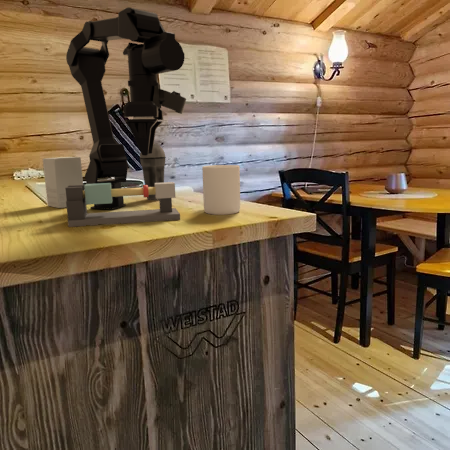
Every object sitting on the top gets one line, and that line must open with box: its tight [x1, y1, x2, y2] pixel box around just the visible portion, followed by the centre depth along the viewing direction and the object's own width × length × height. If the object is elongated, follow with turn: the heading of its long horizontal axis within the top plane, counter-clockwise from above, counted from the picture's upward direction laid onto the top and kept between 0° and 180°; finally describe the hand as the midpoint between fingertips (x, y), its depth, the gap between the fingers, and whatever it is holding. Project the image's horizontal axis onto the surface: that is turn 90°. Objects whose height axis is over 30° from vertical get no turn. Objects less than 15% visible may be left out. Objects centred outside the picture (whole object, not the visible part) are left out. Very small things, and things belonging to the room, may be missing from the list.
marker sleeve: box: [84, 183, 112, 206], centre depth 86 cm, size 5×4×4 cm
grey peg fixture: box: [65, 181, 181, 228], centre depth 88 cm, size 22×8×8 cm, turn 103°
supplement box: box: [42, 156, 84, 209], centre depth 110 cm, size 7×7×13 cm
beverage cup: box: [139, 143, 167, 201], centre depth 117 cm, size 7×7×20 cm
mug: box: [201, 164, 241, 216], centre depth 96 cm, size 12×8×10 cm
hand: (147, 154), depth 89 cm, fingers open, 9 cm apart
